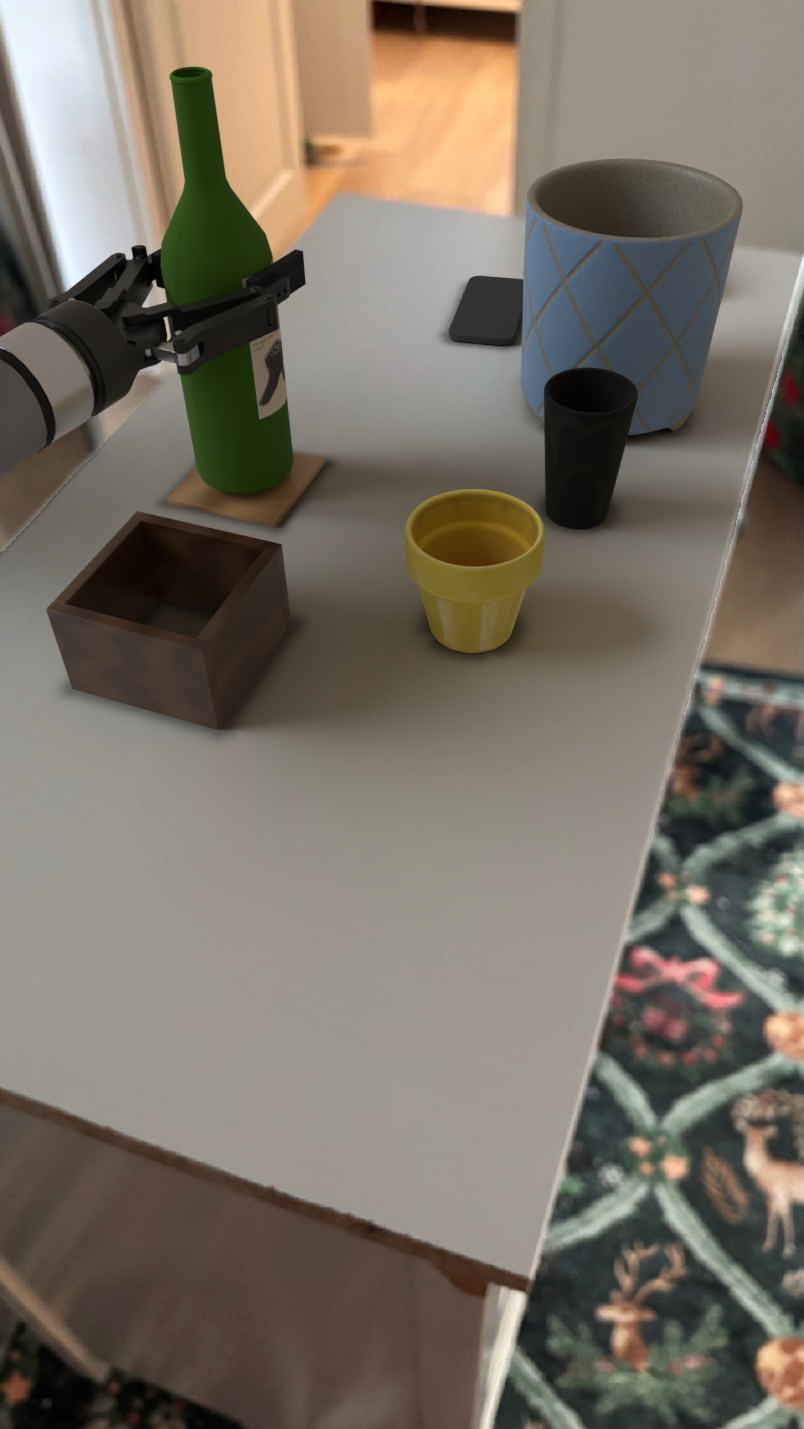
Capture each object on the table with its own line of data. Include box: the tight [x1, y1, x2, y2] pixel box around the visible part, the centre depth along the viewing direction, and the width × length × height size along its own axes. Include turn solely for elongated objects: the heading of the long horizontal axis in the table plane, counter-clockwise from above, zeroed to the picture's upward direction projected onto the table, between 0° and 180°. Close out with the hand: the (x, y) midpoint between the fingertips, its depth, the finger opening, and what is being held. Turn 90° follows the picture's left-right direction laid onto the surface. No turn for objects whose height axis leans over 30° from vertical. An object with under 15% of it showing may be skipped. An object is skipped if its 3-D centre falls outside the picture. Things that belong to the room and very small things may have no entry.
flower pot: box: [404, 488, 546, 654], centre depth 83 cm, size 10×10×10 cm
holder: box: [45, 510, 292, 731], centre depth 82 cm, size 13×13×8 cm
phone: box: [448, 275, 523, 346], centre depth 124 cm, size 7×1×15 cm
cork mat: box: [166, 451, 326, 528], centre depth 101 cm, size 11×11×1 cm
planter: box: [520, 158, 744, 436], centre depth 103 cm, size 19×19×20 cm
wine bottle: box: [160, 66, 294, 494], centre depth 88 cm, size 9×9×33 cm
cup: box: [543, 368, 638, 530], centre depth 93 cm, size 8×8×12 cm
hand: (253, 254), depth 89 cm, fingers closed on wine bottle, 9 cm apart
